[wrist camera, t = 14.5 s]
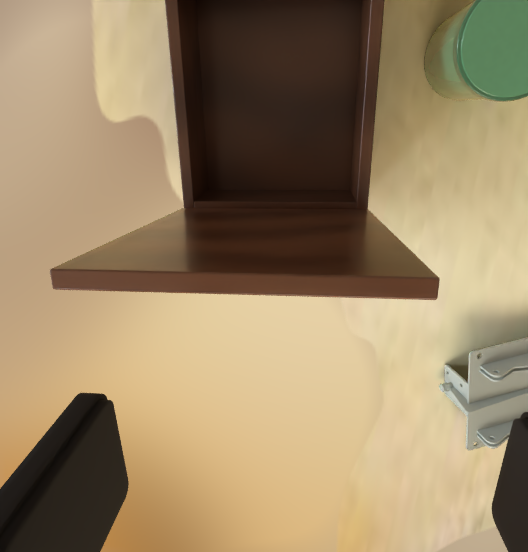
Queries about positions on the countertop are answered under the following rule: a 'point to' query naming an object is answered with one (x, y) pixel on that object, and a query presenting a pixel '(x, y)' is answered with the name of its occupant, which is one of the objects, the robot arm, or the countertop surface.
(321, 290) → the bin lid
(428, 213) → the countertop surface
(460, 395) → the metal bracket
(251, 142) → the bin
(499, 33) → the pot
